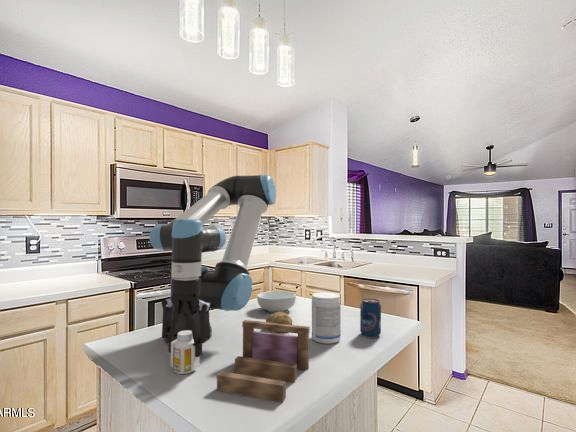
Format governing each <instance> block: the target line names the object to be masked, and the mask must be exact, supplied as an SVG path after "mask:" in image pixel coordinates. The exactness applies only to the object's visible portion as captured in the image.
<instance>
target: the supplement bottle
mask: <svg viewBox="0 0 576 432" xmlns="http://www.w3.org/2000/svg"><path fill="white" fill-rule="evenodd" d="M177 338H178V341H176V342H175V346H174V367H173V371H174V372H175V374H177V375H186V374H191V373H192V372H194V371H191V345H192V344H194V340H193V339H192V338H193V335H192V331H190V330H185V331H180V332H178V335H177Z"/></svg>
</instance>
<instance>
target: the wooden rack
mask: <svg viewBox="0 0 576 432" xmlns="http://www.w3.org/2000/svg"><path fill="white" fill-rule="evenodd" d="M241 322H242V323H241V324H242V326H241V327H242V356H240V355H239V356H237V357H235V359H234V373H233V372H229V371H228V372H227V371H220V372H219V373H218V374H216V391H218V392H223V393H224V392H225V393H230V394H235V395H241V396H246V397H250V398H251V397H252V398H257V399H263V400H268V401H275V402H279V403H284V401H285V400H286V398H287V397H286V394H287V389H286V388H287V382H290V383H296V381H297V378H298V377H297V376H298V375H297V373H298V370H300V371H307V370H308V369H309V367H310V366H309V365H310V363H309V361H310V360H309V359H310V356H309V355H310V350H309V349H310V333H311V331H310V329H311V327H310V326H305V325H304V326H303V325H297V324H296V325H294V324H292V325H288V324H279V323H269V322H266V321H258V320H250V319H243V320H242V321H241ZM255 329H256V330H255ZM257 330H263V331H257ZM268 330H271V331H280V332H287V333H288V334H285V333H274V332H265V331H268ZM289 333H291V334H297V335H291V334H290V335H289Z"/></svg>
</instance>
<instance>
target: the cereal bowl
mask: <svg viewBox="0 0 576 432" xmlns="http://www.w3.org/2000/svg"><path fill="white" fill-rule="evenodd" d="M256 297H257V298H256V299H257V304H258V306H259V307H260V308H261V309H263V310H266V311H267V312H269V313H272V312H274V313H276V312H284V313H285V312H286V311H287V310H289V309H291V308H292V307H293V306H294V305H295V303H296V301H297V300H296V299H297V297H296V293H294V292H292V291H287V290H286V291H285V290H270V291H263V292H260V293H257V296H256Z"/></svg>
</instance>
